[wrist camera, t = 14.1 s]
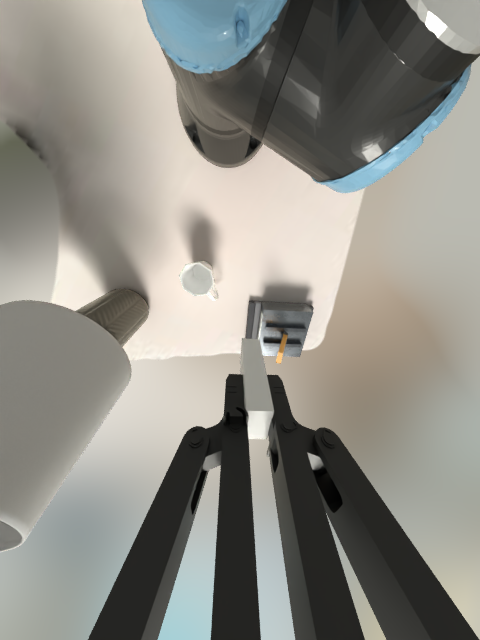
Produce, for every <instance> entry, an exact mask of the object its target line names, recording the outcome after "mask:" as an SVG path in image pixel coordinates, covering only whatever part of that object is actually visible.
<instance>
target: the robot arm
mask: <svg viewBox="0 0 480 640" xmlns="http://www.w3.org/2000/svg"><path fill="white" fill-rule="evenodd" d="M142 3H143V6H144V9H145V11H146V15H147V19H148V22H149V25H150V27H151V29H152V32H153V34H154V36H155V37H156V39H157V41H158V42H159V44H160V46H161V48H162V51H163V53H164V55H165V57H166V60H167V62H168V64H169V66H170V69H171V71H172V73H173V75H174V78H175V80H176V91H177V102H178V108H179V113H180V117H181V120H182V123H183V126H184V129H185V131H186V133H187V135H188V137H189V139H190V141H191V142H192V144H193V146H194V147H195V148H196V150H197V151H198V152H199V153H200V154H201V156H203V157H204V158H205V159H206V160H207V161H209V162H210V163H212V164H214V165H216V166H219V167H224V168H233V167H238V166H240V165H243V164H245V163H246V162H248V161H249V160H250V159H252V158H253V157H254V156H255V154H256V153H257V152H258V151H259V149H260V148H261V146H262V145H263V144H264V145H266V146H267V147H269V148H270V149H272V150H273V151H275V152H276V153H278V154H279V155H280V156H282V157H283V158H285V159H286V160H288V161H289V162H291V163H292V164H294V165H295V166H297V167H298V168H300V169H301V170H303V171H304V172H306V173H307V174H309V175H310V176H311V177H312V179H313V180H314V181H315V182H317V183H320V184H323V185H326V186H328V187H329V188H331V189H333V190H334V191H336V192H340V193H350V192H355V191H358V190H360V189H363V188H365V187H367V186H369V185H371V184H373V183H374V182H376V181H377V180H379V179H381V178H382V177H384V176H385V175H386V174H388V173H389V172H391V171H392V170H393V169H395V168H396V167H397V166H398V165H400V164H401V163H402V162H403V161H404V160H406V159H407V158H408V157H409V156H410V155H411V154H412V153H413V152H414V151H415V150H416V149H417V148H418V147H419V146H420V145H421V144H422V143H423V138H424V137H425V136H426V135H427V134H428V133H430V132H431V131H433V130H435V129H436V128H438V126H439V125H440V124H441V123H442V122H443V120H444V119H445V118H446V117H447V115H448V114H449V113H450V112H451V110H452V109H453V107H454V106H455V104H456V103H457V101H458V99H459V98H460V96H461V94H462V93H463V91H464V89H465V88H466V85H467V82H468V79H469V76H470V71H471V64H472V62H474V60H476V59H477V58H478V57H479V56H480V0H142ZM240 372H241V374H239V375H237V374H229V376H228V377H227V379H226V389H225V406H224V416H223V418H222V420H221V421H220V422H219V423H218V424H217V425H215V426H213V427H210V428H207V429H205V428H203V427H199V426H196V427H193V428H191V429H190V430H188V431H187V432H186V434H185V435H184V437H183V439H182V441H181V443H180V445H179V448H178V450H177V452H176V454H175V456H174V458H173V460H172V462H171V465H170V467H169V469H168V471H167V473H166V475H165V477H164V479H163V482H162V484H161V486H160V488H159V490H158V492H157V494H156V496H155V499H154V501H153V503H152V505H151V507H150V509H149V511H148V513H147V516H146V518H145V520H144V522H143V524H142V526H141V528H140V530H139V532H138V535H137V537H136V539H135V541H134V543H133V545H132V547H131V550H130V552H129V554H128V556H127V558H126V560H125V562H124V564H123V566H122V569H121V571H120V573H119V575H118V577H117V579H116V581H115V583H114V585H113V588H112V590H111V592H110V594H109V596H108V599H107V601H106V602H105V605H104V607H103V609H102V611H101V613H100V615H99V617H98V620H97V622H96V624H95V626H94V628H93V630H92V632H91V634H90V636H89V639H88V640H157V639H158V636H159V633H160V629H161V626H162V623H163V620H164V616H165V613H166V609H167V606H168V603H169V600H170V597H171V593H172V590H173V586H174V583H175V580H176V577H177V573H178V570H179V567H180V564H181V560H182V557H183V554H184V550H185V547H186V544H187V541H188V537H189V534H190V531H191V527H192V524H193V521H194V518H195V514H196V511H197V508H198V504H199V501H200V498H201V495H202V491H203V488H204V485H205V481H206V478H207V474H208V471H209V470H210V469H212V468H215V467H217V466H219V465H221V472H220V490H219V508H218V525H217V542H216V559H215V578H214V593H213V611H212V630H211V640H261V636H260V620H259V603H258V588H257V571H256V555H255V539H254V523H253V507H252V491H251V474H250V460H249V459H250V458H249V441H248V439H267V437H268V436H269V447H268V451H267V457H270V464H271V471H272V478H273V485H274V492H275V499H276V506H277V513H278V520H279V527H280V534H281V541H282V548H283V555H284V562H285V569H286V577H287V584H288V591H289V598H290V604H291V611H292V619H293V626H294V631H295V632H294V633H295V640H365V639H364V636H363V632H362V629H361V626H360V623H359V619H358V616H357V613H356V609H355V607H354V603H353V600H352V597H351V593H350V590H349V587H348V583H347V580H346V577H345V574H344V570H343V567H342V564H341V561H340V558H339V555H338V551H337V548H336V544H335V541H334V538H333V535H332V531H331V528H330V525H329V522H328V519H327V515H328V517H329V519H330V521H331V524H332V526H333V527H334V530H335V532H336V534H337V536H338V538H339V540H340V542H341V544H342V546H343V549H344V551H345V553H346V555H347V557H348V559H349V561H350V564H351V566H352V568H353V570H354V572H355V574H356V576H357V578H358V580H359V582H360V585H361V587H362V589H363V591H364V593H365V595H366V597H367V599H368V601H369V604H370V606H371V608H372V610H373V612H374V614H375V616H376V618H377V620H378V622H379V625H380V627H381V629H382V631H383V633H384V635H385V637H386V639H387V640H479V639H478V637H477V636H476V634H475V633H474V631H473V630H472V628H471V627H470V626H469V624H468V623H467V621H466V620H465V618H464V617H463V616H462V614H461V613H460V611H459V610H458V608H457V607H456V605H455V604H454V603H453V601H452V600H451V598H450V597H449V595H448V594H447V592H446V591H445V590H444V588H443V587H442V585H441V584H440V582H439V581H438V580H437V578H436V577H435V575H434V574H433V573H432V571H431V570H430V568H429V567H428V565H427V564H426V562H425V561H424V560H423V558H422V557H421V555H420V554H419V552H418V551H417V549H416V548H415V547H414V545H413V544H412V542H411V541H410V539H409V538H408V537H407V535H406V534H405V532H404V531H403V529H402V528H401V526H400V525H399V523H398V522H397V521H396V519H395V518H394V516H393V515H392V514H391V512H390V510H389V509H388V508H387V506H386V505H385V503H384V502H383V500H382V499H381V497H380V496H379V495H378V493H377V492H376V491H375V489H374V487H373V486H372V485H371V483H370V482H369V480H368V479H367V477H366V476H365V474H364V473H363V472H362V470H361V469H360V467H359V466H358V464H357V463H356V461H355V460H354V459H353V457H352V456H351V454H350V453H349V451H348V450H347V448H346V447H345V446H344V444H343V443H342V441H341V440H340V438H339V437H338V436H337V435H336V434H335V433H334V432H333V431H331V430H330V429H327V428H319V429H317V430H316V431H315V430H312V429H309V428H306V427H304V426H302V425H300V424H299V423H298V422H297V421H296V420H295V419H294V417H293V415H292V413H291V410H290V406H289V403H288V399H287V396H286V392H285V389H284V385H283V382H282V380H281V379H280V377H279V376H278V375H267V374H266V369H265V364H264V359H263V354H262V349H261V344H260V339H243V338H242V346H241V358H240ZM325 511H326V512H325ZM326 513H327V515H326Z"/></svg>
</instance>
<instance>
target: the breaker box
mask: <svg viewBox="0 0 480 640" xmlns="http://www.w3.org/2000/svg"><path fill="white" fill-rule="evenodd" d="M312 314H313V311H312V310H311V309H310V308H309V307H308V306H307V304H302V303H282V302H263V301H261V309H260V316H259V324H258V331H257V339H260V344H261V349H262V354H263V355H265V356H277V355H278V351H279V348H280V344H281V341H282V337H283V333H284V332H287V333H288V338H287V342H286V345H285V348H284V352H283V356H294V357H300V355H301V351H302V348H303V345H304V341H305V338H306V335H307V331H308V328H309V324H310V321H311V318H312Z"/></svg>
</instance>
